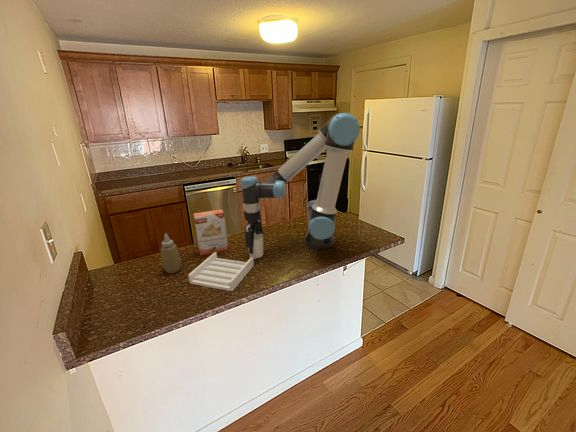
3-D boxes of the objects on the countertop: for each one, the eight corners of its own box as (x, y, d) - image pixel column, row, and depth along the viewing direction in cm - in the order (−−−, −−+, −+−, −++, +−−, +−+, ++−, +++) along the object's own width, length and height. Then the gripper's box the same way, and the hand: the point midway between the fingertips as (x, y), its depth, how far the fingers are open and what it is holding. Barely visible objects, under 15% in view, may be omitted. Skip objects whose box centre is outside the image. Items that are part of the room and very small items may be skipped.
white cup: (265, 251, 139) (264, 232, 136) (263, 259, 132) (261, 240, 128) (250, 251, 140) (248, 233, 137) (246, 259, 133) (244, 240, 129)
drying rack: (253, 265, 127) (253, 257, 126) (232, 291, 110) (231, 282, 108) (215, 260, 133) (214, 252, 132) (189, 283, 116) (188, 274, 114)
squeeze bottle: (186, 266, 129) (179, 231, 122) (174, 276, 121) (166, 239, 115) (172, 264, 131) (164, 229, 125) (159, 273, 124) (151, 237, 118)
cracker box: (200, 256, 137) (193, 217, 130) (199, 251, 143) (192, 212, 135) (228, 250, 142) (223, 212, 135) (226, 245, 147) (221, 208, 140)
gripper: (253, 203, 138) (257, 244, 146) (234, 217, 120) (239, 264, 128) (268, 204, 136) (271, 246, 144) (249, 219, 118) (254, 266, 126)
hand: (256, 254), depth 136 cm, fingers closed on white cup, 7 cm apart
